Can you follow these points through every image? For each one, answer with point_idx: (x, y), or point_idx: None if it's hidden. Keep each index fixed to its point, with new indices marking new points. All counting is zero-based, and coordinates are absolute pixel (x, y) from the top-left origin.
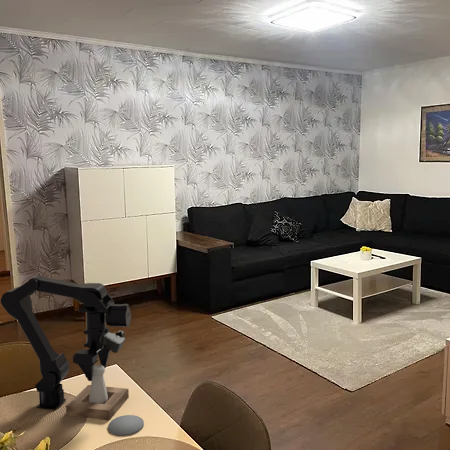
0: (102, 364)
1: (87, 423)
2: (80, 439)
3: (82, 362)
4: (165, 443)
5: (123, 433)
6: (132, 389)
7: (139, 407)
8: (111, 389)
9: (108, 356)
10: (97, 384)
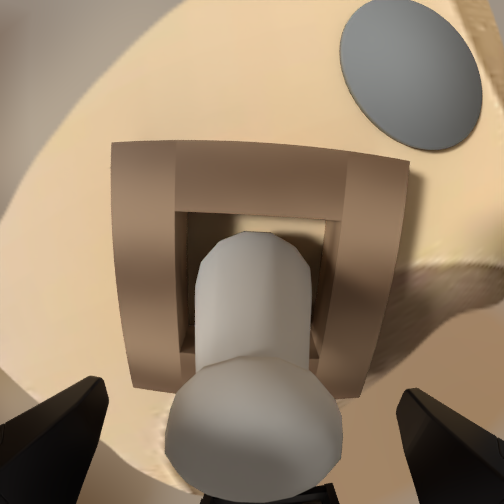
0: (95, 426)
1: (413, 257)
2: (499, 235)
3: None
4: None
5: (477, 73)
6: (55, 166)
7: (233, 44)
8: (142, 250)
9: (2, 433)
10: (307, 338)
